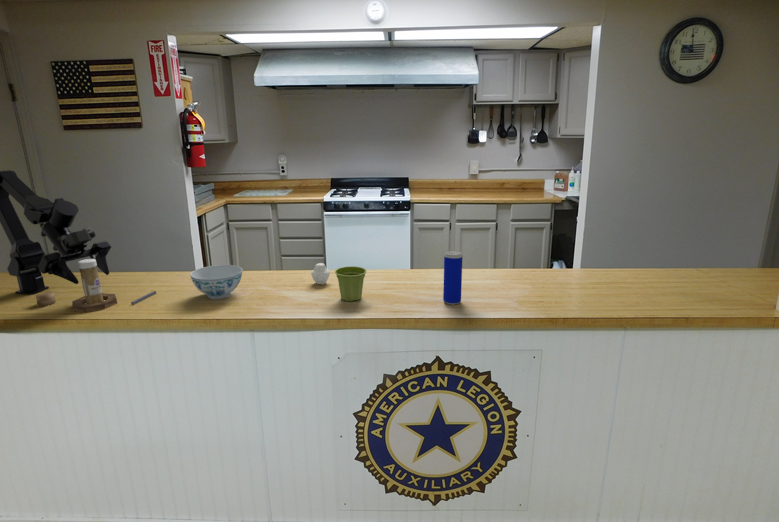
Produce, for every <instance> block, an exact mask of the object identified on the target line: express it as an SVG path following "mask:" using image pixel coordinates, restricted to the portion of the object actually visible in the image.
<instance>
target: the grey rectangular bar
mask: <svg viewBox="0 0 779 522" xmlns="http://www.w3.org/2000/svg"><path fill="white" fill-rule="evenodd" d="M156 294H157V291H156V290H153V291H151V292H148V293H147V294H145V295H142V296H141V297H139V298H137V299H135V300H134V299H133V300H132V301H131V302H130V303H131V304H132V305H133V306H134V305H136V304H138V303H139V302H142V301H144V300H146V299H148V298H150V297H152V296H154V295H156ZM131 304H130V305H131Z"/></svg>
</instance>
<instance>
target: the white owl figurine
mask: <svg viewBox="0 0 779 522" xmlns="http://www.w3.org/2000/svg"><path fill="white" fill-rule="evenodd" d="M330 274H331V271H330V270H329V269H328V268H327V266H326V264H325V263H323V262H319V263H316V264H315V265H314V268H313V269H312V271H311V273H310V275H311V278H312V279H313V282H315V284H316V283H317V284H316V285H318V284H323V285H325V284H324V283H326V284H327V282H328V280H329V277H330Z"/></svg>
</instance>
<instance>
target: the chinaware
mask: <svg viewBox="0 0 779 522" xmlns="http://www.w3.org/2000/svg"><path fill="white" fill-rule="evenodd" d="M189 276H190V279H191V281H192V282H193V284H194V286H195V288H196V289H197V290H198V291H200V292H201V293H202V294H204V295H207V298H208V299H211V300H221V299H225V298H228V297H230V296H231V294H232V292H233V291H234V290H236V288H238V285H239V284H240V282H241V280H242V276H243V268H242V267H240V265H239V266H238V265H234V264H217V265H209V266H205V267H204V266H203V267H200V268H197V269H195V270H193V271H191V272H190V274H189Z"/></svg>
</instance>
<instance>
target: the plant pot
mask: <svg viewBox="0 0 779 522" xmlns="http://www.w3.org/2000/svg"><path fill="white" fill-rule="evenodd" d="M334 273H335V275H336V278H337V281H338V287H339V293H340V298H341V300H342V301H344V300H345V301H346V302H352V301H355V300H357V301H359V299H360V298H361V299H362V297H363V295H362V294H363V288H364V287H363V286H364V279H365V276H366V273H367V268H364V267H361V266H354V265H352V266H342V267H339V268H337V269H335V270H334ZM361 299H360V300H361Z"/></svg>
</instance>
